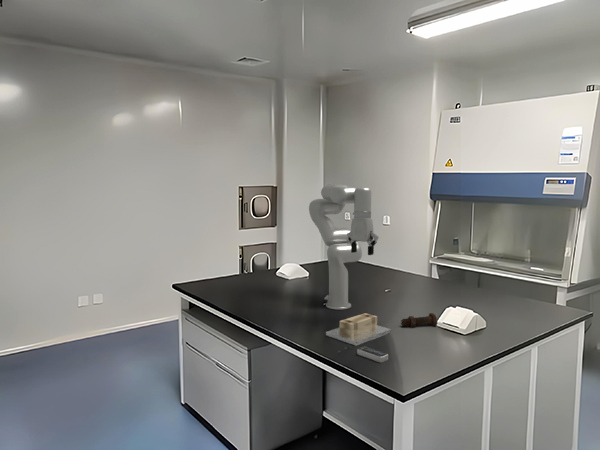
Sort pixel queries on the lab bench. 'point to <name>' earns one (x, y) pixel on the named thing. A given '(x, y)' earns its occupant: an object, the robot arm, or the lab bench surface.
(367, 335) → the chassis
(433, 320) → the bolt
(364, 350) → the multiport hub
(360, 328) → the tan rectangular block
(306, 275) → the lab bench surface
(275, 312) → the lab bench surface
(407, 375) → the lab bench surface
